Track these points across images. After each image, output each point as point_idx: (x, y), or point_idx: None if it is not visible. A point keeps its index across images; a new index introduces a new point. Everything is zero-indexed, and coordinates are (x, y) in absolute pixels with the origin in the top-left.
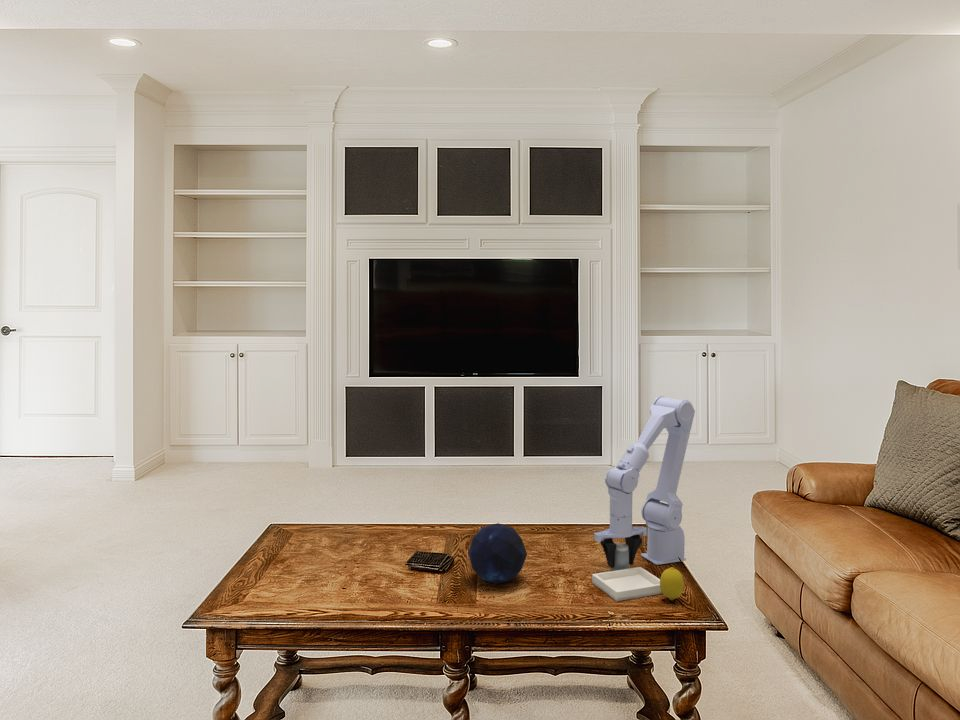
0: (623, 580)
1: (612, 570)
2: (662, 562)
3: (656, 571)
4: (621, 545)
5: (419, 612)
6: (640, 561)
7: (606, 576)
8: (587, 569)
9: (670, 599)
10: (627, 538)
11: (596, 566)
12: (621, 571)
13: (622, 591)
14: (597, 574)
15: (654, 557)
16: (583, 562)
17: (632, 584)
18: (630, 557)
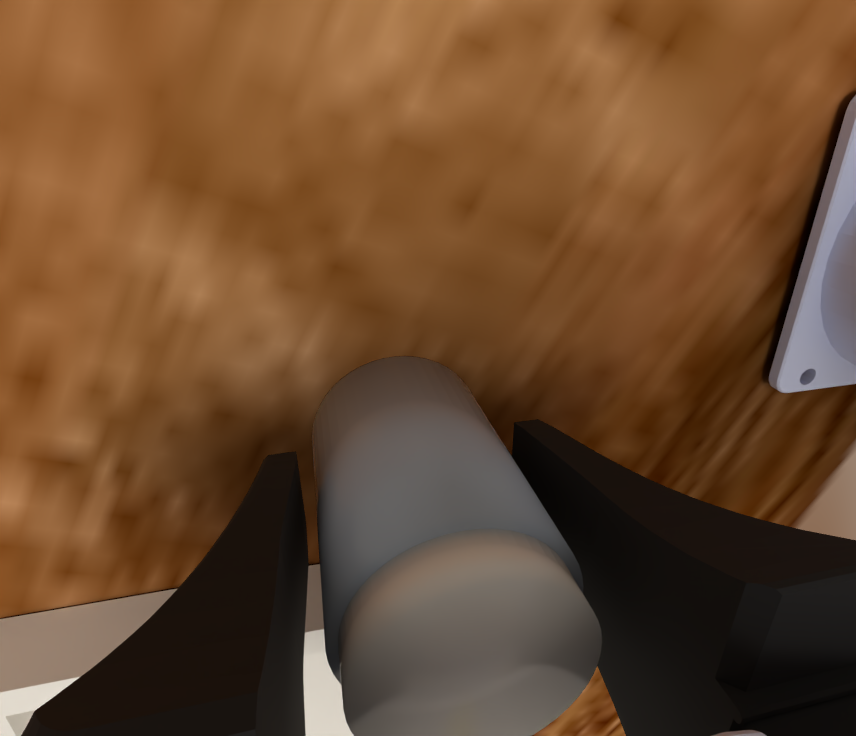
0: (304, 655)
1: (313, 446)
2: (830, 385)
3: (672, 485)
4: (492, 678)
5: None
6: (727, 246)
7: None
8: (34, 296)
9: None
10: (704, 665)
11: (194, 235)
12: (321, 647)
13: None
14: (22, 708)
15: (847, 329)
16: (33, 13)
17: (337, 714)
18: None
